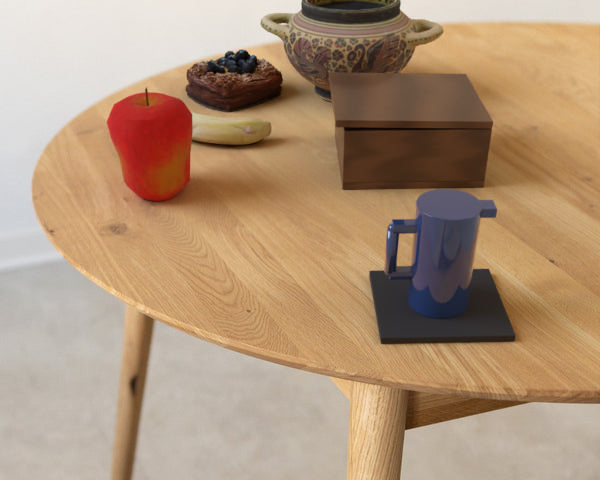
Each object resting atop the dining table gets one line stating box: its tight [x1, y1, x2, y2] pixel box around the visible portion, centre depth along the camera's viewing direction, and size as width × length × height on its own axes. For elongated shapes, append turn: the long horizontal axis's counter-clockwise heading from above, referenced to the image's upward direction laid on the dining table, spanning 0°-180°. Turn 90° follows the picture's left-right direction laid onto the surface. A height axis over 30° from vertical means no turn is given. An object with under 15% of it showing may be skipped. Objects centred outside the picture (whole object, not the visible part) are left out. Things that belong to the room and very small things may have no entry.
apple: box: [106, 86, 193, 202], centre depth 82 cm, size 9×8×12 cm
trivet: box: [368, 268, 517, 344], centre depth 68 cm, size 11×10×1 cm
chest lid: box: [329, 72, 494, 130], centre depth 88 cm, size 16×15×1 cm
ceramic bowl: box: [259, 0, 444, 103], centre depth 106 cm, size 24×18×15 cm
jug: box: [383, 188, 498, 319], centre depth 65 cm, size 8×5×10 cm, turn 91°
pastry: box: [184, 49, 284, 113], centre depth 108 cm, size 11×12×6 cm
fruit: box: [190, 110, 272, 146], centre depth 97 cm, size 7×15×3 cm, turn 56°
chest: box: [334, 124, 493, 190], centre depth 90 cm, size 16×15×7 cm
